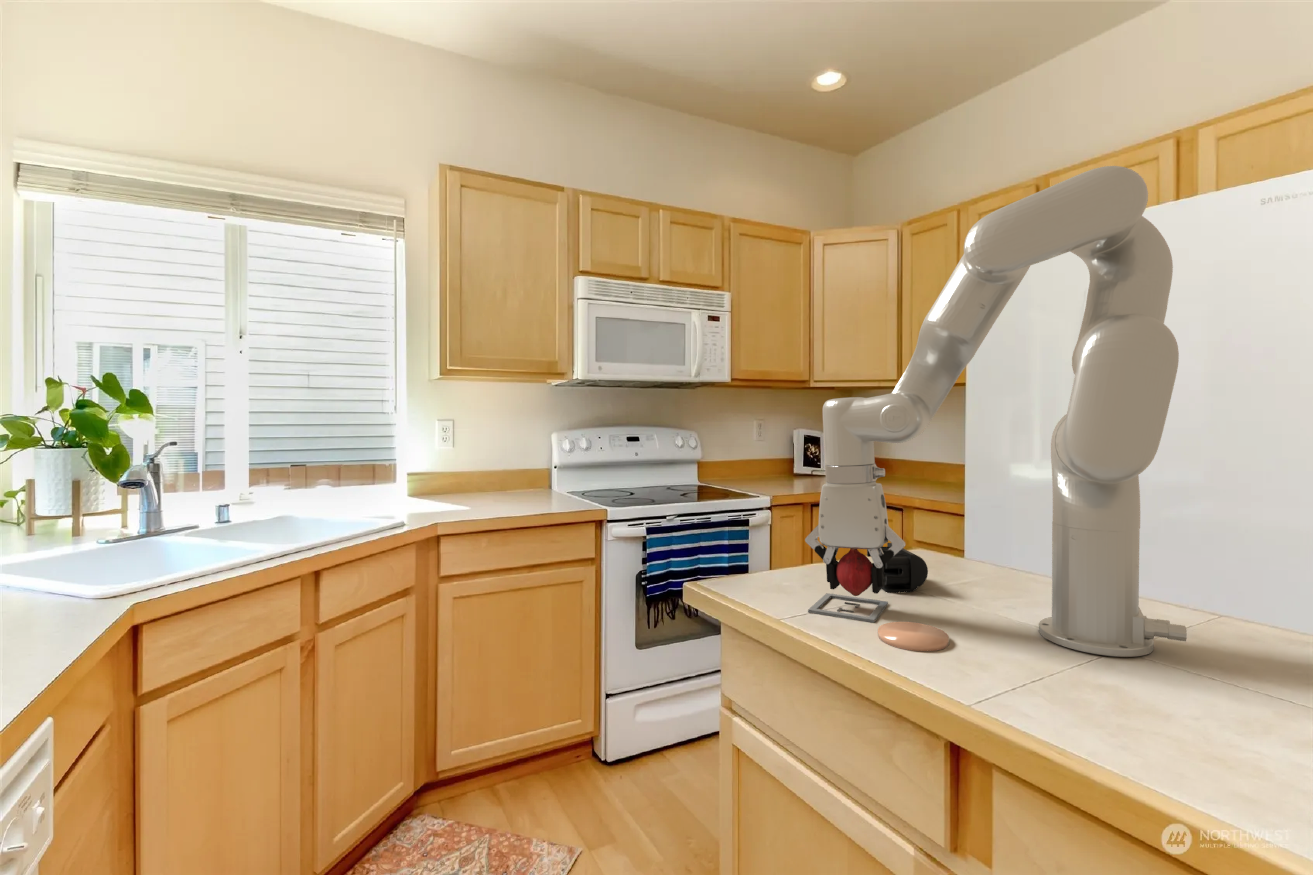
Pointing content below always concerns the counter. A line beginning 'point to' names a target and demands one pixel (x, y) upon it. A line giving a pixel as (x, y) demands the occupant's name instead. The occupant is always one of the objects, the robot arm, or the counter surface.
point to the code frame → (871, 618)
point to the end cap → (903, 571)
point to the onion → (854, 572)
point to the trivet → (913, 636)
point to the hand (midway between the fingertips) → (855, 588)
